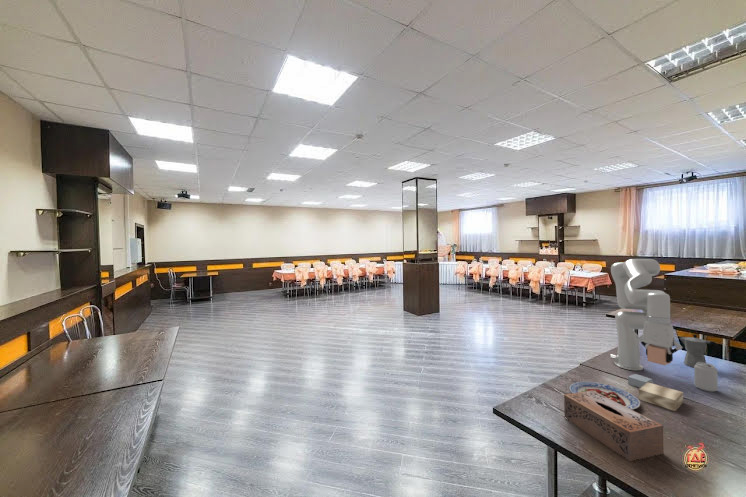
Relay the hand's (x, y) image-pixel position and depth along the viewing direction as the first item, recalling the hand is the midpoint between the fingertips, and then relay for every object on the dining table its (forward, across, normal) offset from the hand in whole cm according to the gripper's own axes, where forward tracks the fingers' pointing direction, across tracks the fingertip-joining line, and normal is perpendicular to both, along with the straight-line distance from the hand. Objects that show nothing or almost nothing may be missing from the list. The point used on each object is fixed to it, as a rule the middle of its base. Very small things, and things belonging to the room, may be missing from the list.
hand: (659, 359), depth 136 cm
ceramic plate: (+19, -13, -20) cm, 31 cm away
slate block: (+19, -11, +10) cm, 24 cm away
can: (+19, +6, +32) cm, 38 cm away
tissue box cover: (+19, +2, -47) cm, 51 cm away
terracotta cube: (+1, 0, 0) cm, 1 cm away
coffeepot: (+19, -6, +65) cm, 68 cm away
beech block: (+19, +1, 0) cm, 19 cm away
